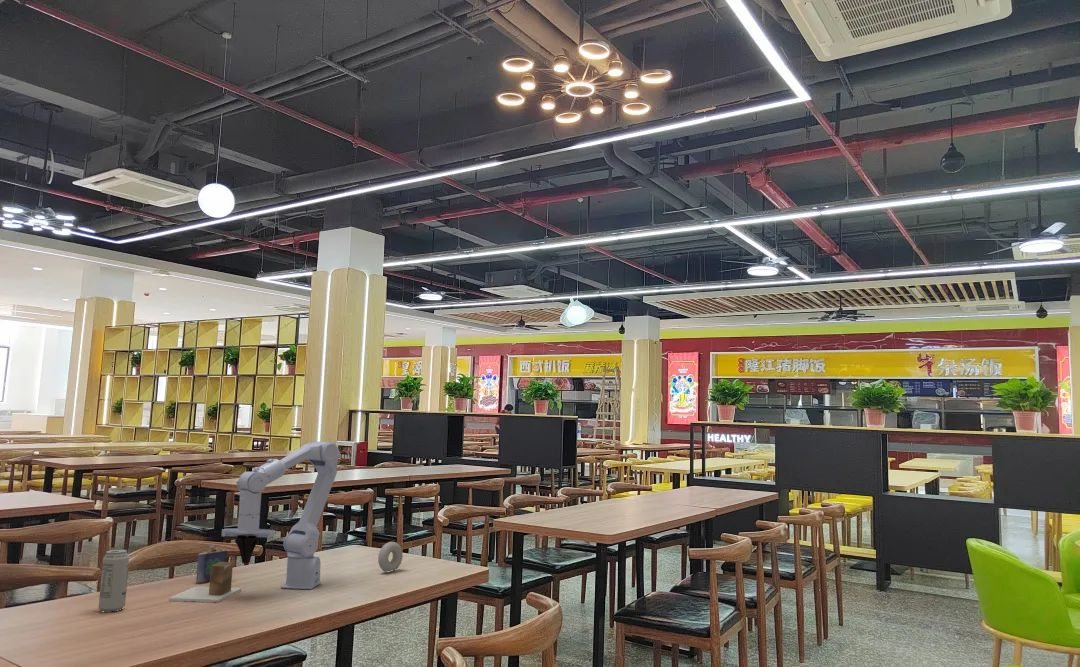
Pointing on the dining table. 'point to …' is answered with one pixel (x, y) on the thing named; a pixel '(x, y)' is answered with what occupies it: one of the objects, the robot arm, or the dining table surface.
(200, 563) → the flask
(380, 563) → the donut
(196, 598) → the stone board
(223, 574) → the walnut block
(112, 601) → the energy drink can
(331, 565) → the dining table surface
